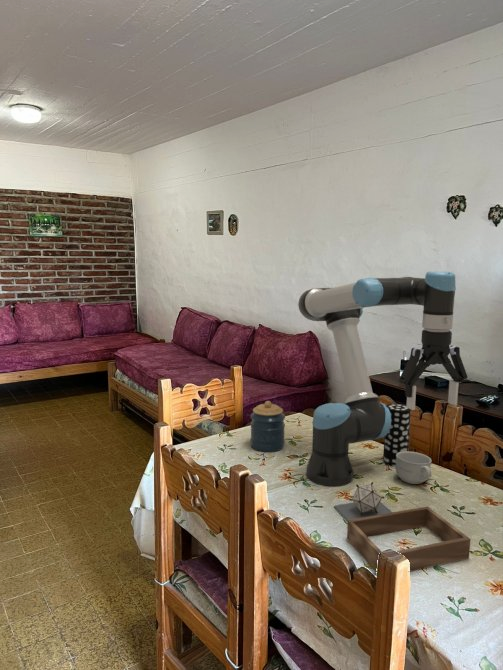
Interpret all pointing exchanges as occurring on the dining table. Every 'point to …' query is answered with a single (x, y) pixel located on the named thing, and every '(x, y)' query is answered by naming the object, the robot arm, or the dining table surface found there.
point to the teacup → (413, 467)
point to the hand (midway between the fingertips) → (431, 406)
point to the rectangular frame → (419, 557)
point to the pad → (352, 511)
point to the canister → (267, 428)
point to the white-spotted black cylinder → (397, 433)
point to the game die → (366, 498)
